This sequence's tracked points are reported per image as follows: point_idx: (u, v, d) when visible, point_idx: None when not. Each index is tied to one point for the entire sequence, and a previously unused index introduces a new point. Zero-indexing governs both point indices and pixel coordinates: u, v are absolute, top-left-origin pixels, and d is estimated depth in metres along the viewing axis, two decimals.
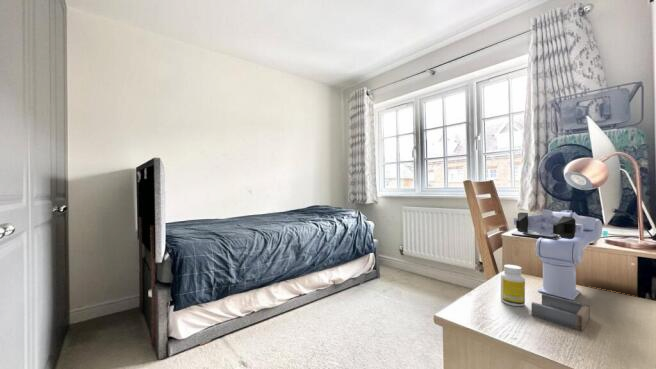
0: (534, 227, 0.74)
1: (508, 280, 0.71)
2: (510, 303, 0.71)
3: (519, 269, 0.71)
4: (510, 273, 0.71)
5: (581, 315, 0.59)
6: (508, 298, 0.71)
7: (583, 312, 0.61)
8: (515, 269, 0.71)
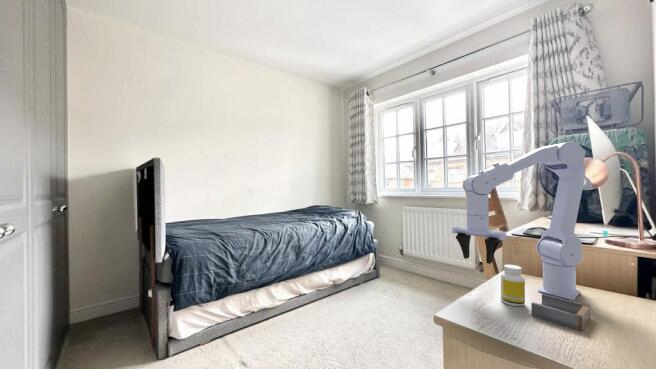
0: None
1: (508, 280, 0.71)
2: (510, 303, 0.71)
3: (519, 269, 0.71)
4: (510, 273, 0.71)
5: (581, 315, 0.59)
6: (508, 298, 0.71)
7: (583, 312, 0.61)
8: (515, 269, 0.71)
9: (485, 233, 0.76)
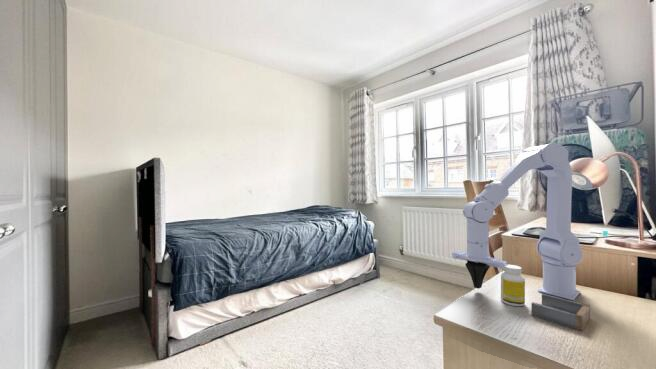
0: None
1: (508, 280, 0.71)
2: (510, 303, 0.71)
3: (519, 269, 0.71)
4: (510, 273, 0.71)
5: (581, 315, 0.59)
6: (508, 298, 0.71)
7: (583, 312, 0.61)
8: (515, 269, 0.71)
9: (485, 261, 0.76)
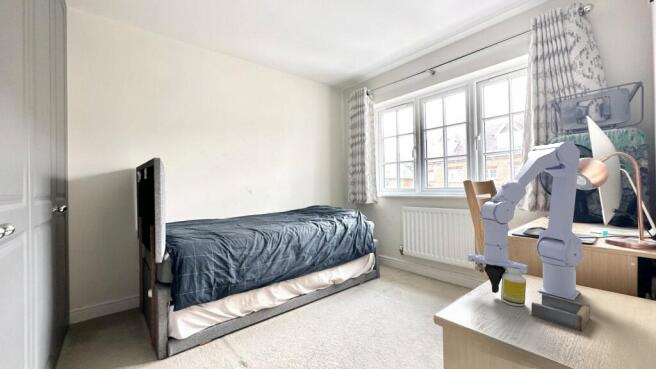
0: None
1: (510, 281, 0.71)
2: (510, 303, 0.71)
3: None
4: (512, 273, 0.71)
5: (581, 315, 0.59)
6: (509, 298, 0.71)
7: (583, 312, 0.61)
8: (517, 269, 0.70)
9: (505, 265, 0.72)
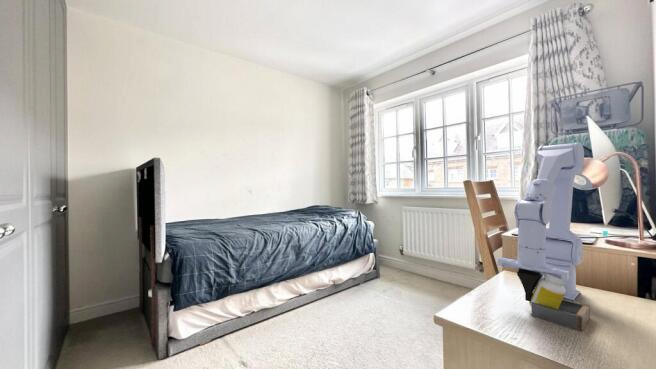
0: None
1: (548, 290, 0.64)
2: None
3: (564, 280, 0.63)
4: (552, 282, 0.64)
5: (581, 315, 0.59)
6: None
7: (583, 312, 0.61)
8: (560, 280, 0.63)
9: (543, 270, 0.65)
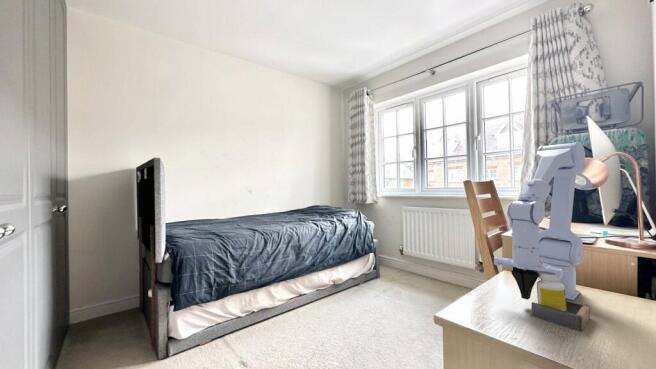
0: None
1: (547, 289, 0.64)
2: None
3: None
4: (548, 281, 0.65)
5: (581, 315, 0.59)
6: None
7: (583, 312, 0.61)
8: (553, 276, 0.64)
9: (537, 269, 0.66)
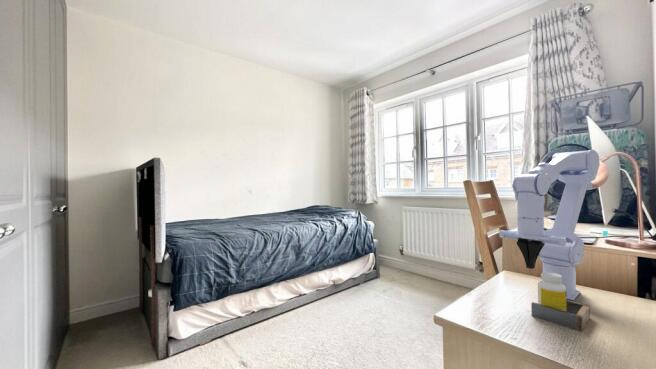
0: None
1: (547, 290, 0.64)
2: None
3: (559, 277, 0.64)
4: (549, 281, 0.65)
5: (581, 315, 0.59)
6: None
7: (583, 312, 0.61)
8: (555, 277, 0.64)
9: (542, 238, 0.69)
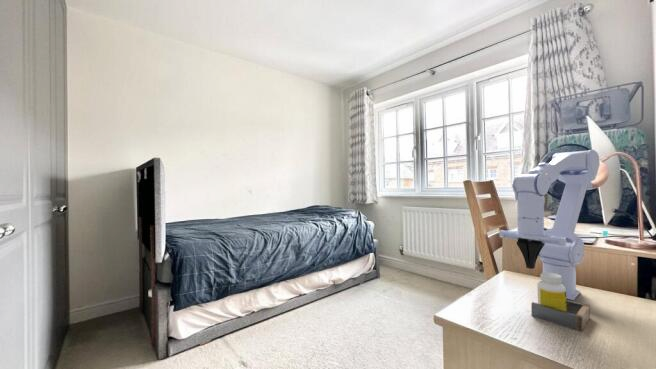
0: None
1: (546, 291, 0.64)
2: None
3: (558, 278, 0.64)
4: (548, 282, 0.64)
5: (581, 315, 0.59)
6: None
7: (583, 312, 0.61)
8: (554, 278, 0.64)
9: (542, 238, 0.69)
